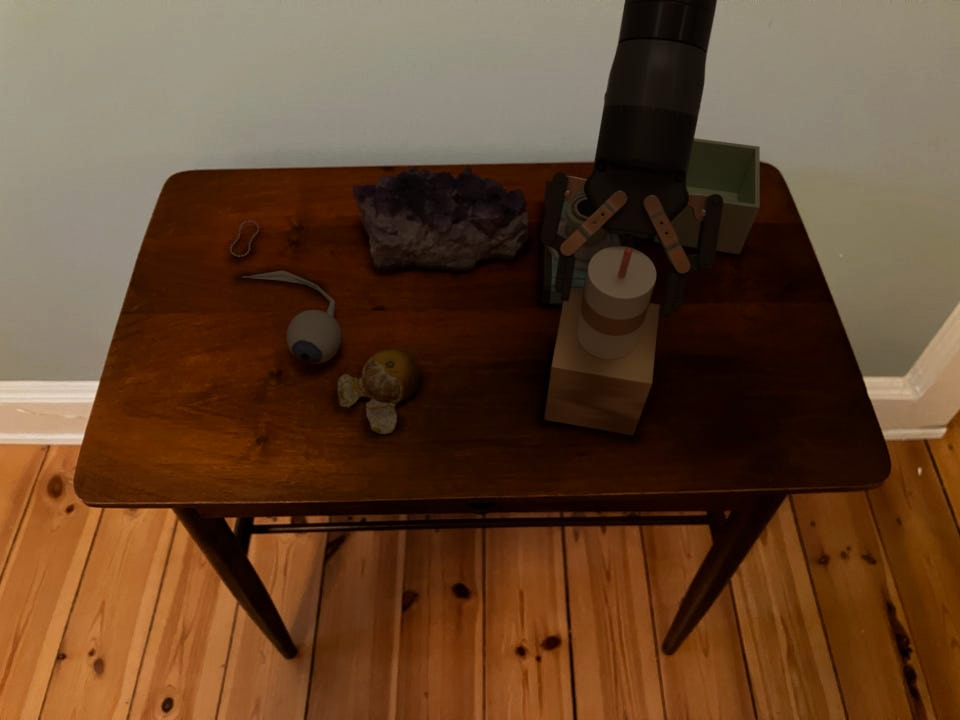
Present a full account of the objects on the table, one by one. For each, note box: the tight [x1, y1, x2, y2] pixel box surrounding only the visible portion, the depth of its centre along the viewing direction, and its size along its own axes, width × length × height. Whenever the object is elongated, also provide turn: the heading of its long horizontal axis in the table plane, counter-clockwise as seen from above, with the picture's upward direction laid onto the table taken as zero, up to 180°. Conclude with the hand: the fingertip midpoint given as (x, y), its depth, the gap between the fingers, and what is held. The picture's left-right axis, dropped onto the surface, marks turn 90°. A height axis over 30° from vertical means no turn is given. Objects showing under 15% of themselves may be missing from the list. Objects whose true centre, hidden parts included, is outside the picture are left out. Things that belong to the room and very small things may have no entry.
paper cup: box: [577, 246, 657, 360], centre depth 63 cm, size 6×6×13 cm
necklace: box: [229, 219, 261, 258], centre depth 87 cm, size 2×5×1 cm, turn 167°
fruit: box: [336, 349, 421, 435], centre depth 75 cm, size 8×8×4 cm
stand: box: [543, 291, 660, 436], centre depth 72 cm, size 9×9×10 cm
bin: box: [653, 137, 761, 255], centre depth 87 cm, size 10×10×8 cm
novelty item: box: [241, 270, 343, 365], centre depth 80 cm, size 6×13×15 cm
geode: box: [352, 165, 530, 272], centre depth 84 cm, size 20×12×10 cm, turn 91°
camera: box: [541, 180, 635, 306], centre depth 83 cm, size 16×10×10 cm
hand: (614, 308), depth 63 cm, fingers open, 8 cm apart
